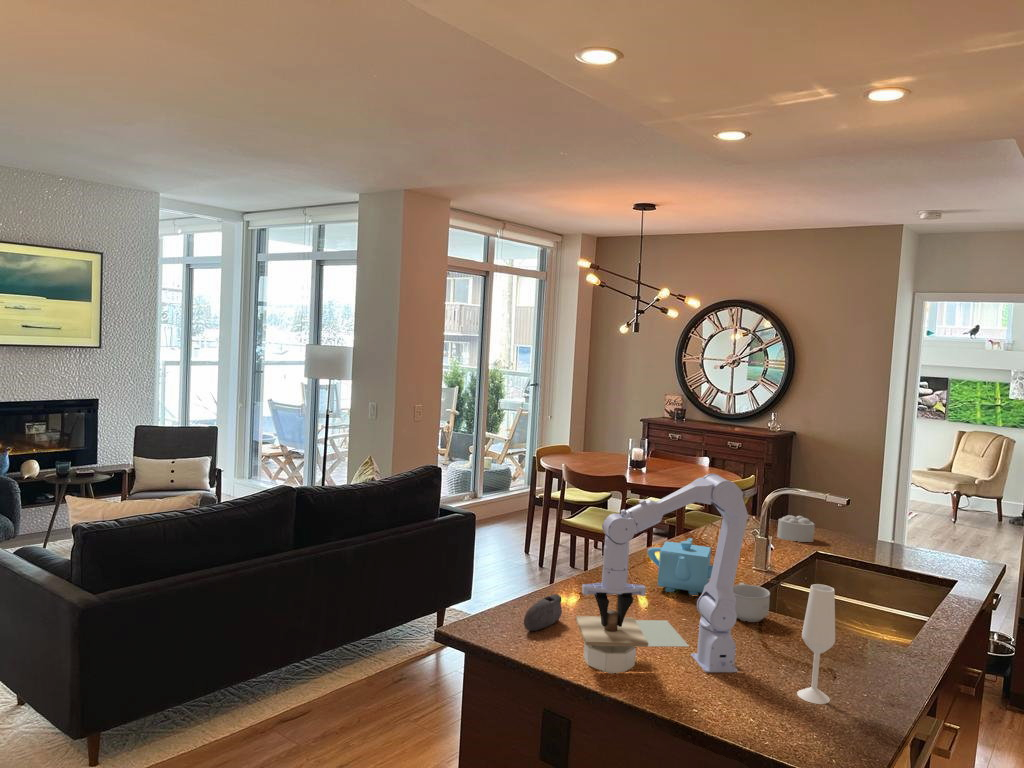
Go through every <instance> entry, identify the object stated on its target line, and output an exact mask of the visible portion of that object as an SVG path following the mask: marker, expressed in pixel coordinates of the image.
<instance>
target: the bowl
mask: <svg viewBox="0 0 1024 768" xmlns="http://www.w3.org/2000/svg"><path fill="white" fill-rule="evenodd" d="M636 651H637V646H599V645H586V644H585V641H584V645H583V658H584V660H585V663H586V664H587V666H588V667H591V668H592V669H596V670H599V671H602V672H601V673H604V672H608V673H607V674H614V673H616V674H620V673H619V672H624V673H626V672H625V671H629V670H631V669H632V668H633V667H634V666H636V653H637V652H636Z"/></svg>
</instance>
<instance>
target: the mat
mask: <svg viewBox="0 0 1024 768" xmlns="http://www.w3.org/2000/svg"><path fill="white" fill-rule="evenodd" d="M635 621H636V623H637V624H638V626H639V628H640V630H641V631H642V633H643V635H644V637H645V638H646V640H647V642H648V647H647V648H649V647H650V648H651V647H653V648H654V647H655V648H656V647H658V648H659V647H664V648H666V647H668V648H669V647H677V648H678V647H681V648H682V647H686V648H687V647H690V645H689V644H688V643H687V642H686V640H684V638H683V637H682V636H681V635H680V633H678V631H677V630H676V629H675V627H673V626H672V625H671V623H670V622H669V621H668V620H666V619H665V620H664V619H663V620H660V619H657V620H656V619H651V620H650V619H648V620H647V619H642V620H641V619H635ZM639 647H643V646H639Z"/></svg>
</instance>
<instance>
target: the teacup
mask: <svg viewBox="0 0 1024 768" xmlns="http://www.w3.org/2000/svg"><path fill="white" fill-rule="evenodd" d="M733 592H734V596H735V599H736V605H735V611H736V614H737V619H738V620H739V619H741V620H740V621H742V620H743V621H742V622H745V621H748V622H747V623H758V622H760V621H762V620H763V619H765V618H766V617H767V616H768V614H769V612H770V611H769V610H770V601H771V600H770V597H771V592H770V591H769V590H768V589H766V588H765V587H762V586H759V585H754V584H746V583H745V582H739V584H736V585H733Z"/></svg>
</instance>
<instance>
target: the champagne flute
mask: <svg viewBox="0 0 1024 768" xmlns="http://www.w3.org/2000/svg"><path fill="white" fill-rule="evenodd" d="M835 595H836V594H835V588H834V587H831V586H829V585H825V584H822V583H821V584H820V583H816V584H811V585H810V588H809V593H808V600H807V605H806V609H805V610H806V611H805V615H804V620H803V626H802V632H801V637H802V640H803V642H804V643H805V645H806V646H807V647H808V649H809V650H810V651H812V652H813V664H812V673H811V675H812V676H811V686H810V687H807V688H803V689H800V690H798V691H797V692H796V695H797V696H798V697H799V698H800V699H802V700H803V701H805V702H808V703H812V704H817V705H824V704H828V703H829V702H830V701H831V699H830V697H829V695H827V694H825V693H824V692H823V691H822V690H820V689H819V688H818V680H819V672H820V671H819V668H820V659H821V658H820V657H821V654H824V653H826V652H827V651H829V650H830V649H831V648H832V647H833V646H834V645H835V643H836V604H835V599H836V598H835V597H836V596H835Z"/></svg>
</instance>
